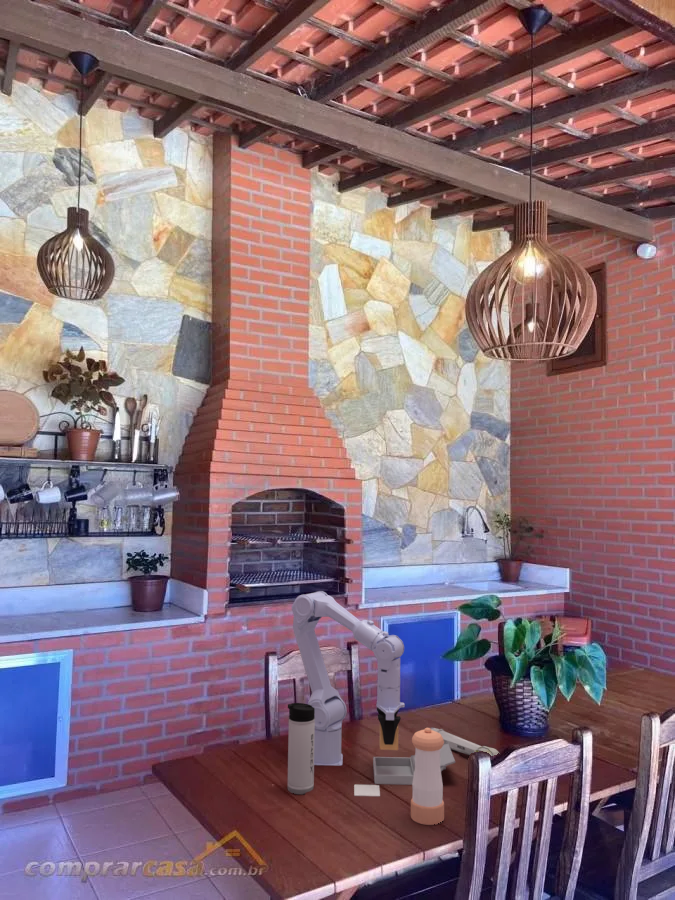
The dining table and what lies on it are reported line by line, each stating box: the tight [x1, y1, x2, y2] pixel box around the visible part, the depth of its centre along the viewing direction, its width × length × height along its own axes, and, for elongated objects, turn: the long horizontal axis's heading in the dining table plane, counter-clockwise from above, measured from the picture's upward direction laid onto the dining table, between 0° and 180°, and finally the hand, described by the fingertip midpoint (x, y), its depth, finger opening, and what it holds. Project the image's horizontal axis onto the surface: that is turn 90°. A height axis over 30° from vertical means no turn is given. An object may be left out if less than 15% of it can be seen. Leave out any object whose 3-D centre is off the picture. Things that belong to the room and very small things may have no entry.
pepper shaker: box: [410, 727, 445, 826], centre depth 154 cm, size 7×7×19 cm
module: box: [378, 723, 400, 751], centre depth 176 cm, size 4×4×6 cm
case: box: [372, 744, 456, 786], centre depth 175 cm, size 20×13×6 cm, turn 89°
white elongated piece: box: [429, 727, 500, 756], centre depth 190 cm, size 5×7×25 cm
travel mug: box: [287, 702, 315, 795], centre depth 168 cm, size 6×7×20 cm
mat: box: [353, 784, 381, 797], centre depth 166 cm, size 6×6×1 cm
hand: (388, 740), depth 176 cm, fingers closed on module, 4 cm apart
